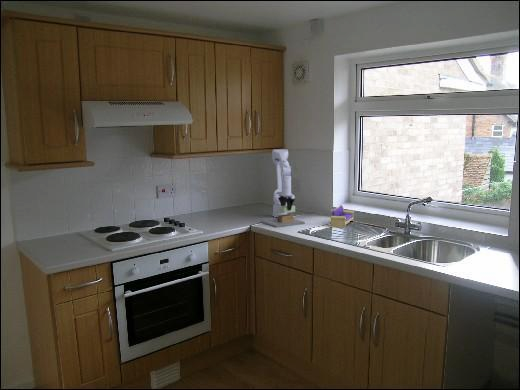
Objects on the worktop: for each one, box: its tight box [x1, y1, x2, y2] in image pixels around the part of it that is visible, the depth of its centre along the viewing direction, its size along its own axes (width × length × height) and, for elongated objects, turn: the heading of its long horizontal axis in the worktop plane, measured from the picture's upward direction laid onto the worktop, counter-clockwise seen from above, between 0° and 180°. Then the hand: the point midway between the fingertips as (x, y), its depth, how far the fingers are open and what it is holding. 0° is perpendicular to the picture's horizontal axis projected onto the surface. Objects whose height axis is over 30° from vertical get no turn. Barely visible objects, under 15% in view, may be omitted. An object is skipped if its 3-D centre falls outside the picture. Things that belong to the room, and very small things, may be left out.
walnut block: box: [276, 213, 294, 223], centre depth 274 cm, size 6×8×4 cm
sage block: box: [279, 204, 296, 214], centre depth 274 cm, size 6×8×4 cm
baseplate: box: [260, 218, 305, 228], centre depth 275 cm, size 18×20×1 cm
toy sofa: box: [330, 204, 355, 229], centre depth 269 cm, size 21×9×10 cm, turn 154°
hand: (286, 209), depth 274 cm, fingers closed on sage block, 5 cm apart
